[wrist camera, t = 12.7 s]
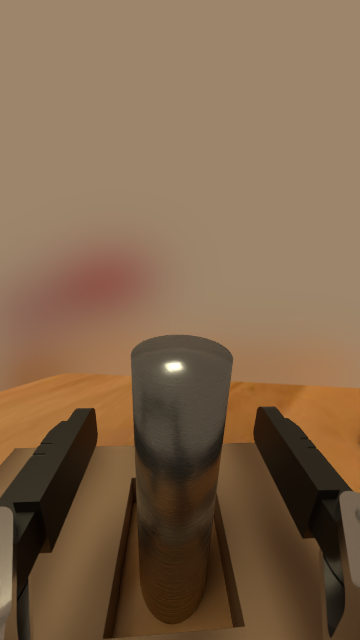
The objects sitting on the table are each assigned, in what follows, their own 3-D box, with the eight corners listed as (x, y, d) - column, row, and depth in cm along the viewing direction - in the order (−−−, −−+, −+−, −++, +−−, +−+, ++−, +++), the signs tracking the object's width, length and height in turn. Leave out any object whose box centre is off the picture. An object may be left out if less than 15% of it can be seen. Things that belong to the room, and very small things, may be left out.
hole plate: (-293, 893, 5) (-358, 879, 4) (21, 471, 16) (15, 448, 15) (429, 782, 6) (460, 758, 6) (267, 463, 17) (272, 442, 16)
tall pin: (133, 627, 9) (118, 381, 5) (144, 520, 13) (139, 334, 9) (213, 620, 9) (251, 380, 6) (200, 517, 13) (217, 335, 9)
